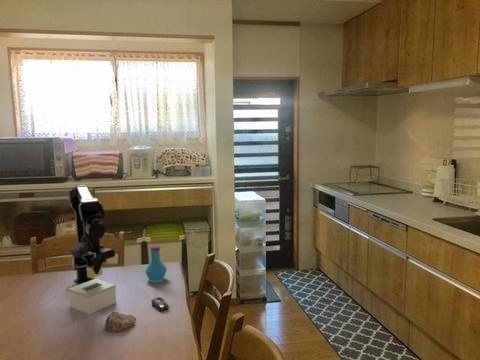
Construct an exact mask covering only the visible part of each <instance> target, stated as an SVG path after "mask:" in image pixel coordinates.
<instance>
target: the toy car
mask: <svg viewBox="0 0 480 360" xmlns="http://www.w3.org/2000/svg"><path fill="white" fill-rule="evenodd" d="M150 283H151V282H150V281H148V284H150ZM150 302H151V304H152V307H153V308H155V307H156V308H157V309H158V311H159V312H164V311H166V310H169V309H170V306H169V304H168V303H167V301H166V300H165V299H164V298H163V297H155V298H154V299H153V298H152V299H151V301H150Z"/></svg>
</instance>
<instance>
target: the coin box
mask: <svg viewBox="0 0 480 360" xmlns="http://www.w3.org/2000/svg"><path fill="white" fill-rule="evenodd" d="M116 289H117V288H116V284H114V283H111V282H108V281H104V280H101V279H98V278H95V279H93V280H90V281H88V282H85V283H82V284H81V283H79V284H77V285H75V286H71V287H70V288H68V289H67V290H68V291H67V293H68V303H69V304H68V306H69V307H70V308H73V309H75V310H77V311H80V312H82V313H85V314H87V315H91V314H94V313H96V312H98V311H100V310H102V309H105V308H107V307H109V306H111V305H114V304H115V303H117V291H116Z"/></svg>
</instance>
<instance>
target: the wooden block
mask: <svg viewBox="0 0 480 360" xmlns="http://www.w3.org/2000/svg"><path fill="white" fill-rule="evenodd" d="M102 275H103V265H102V266H101V268H100V271H99V273H98V274H95V269H94V265H91V266H88V267H87V277H89V278H96V277H99V276H102Z"/></svg>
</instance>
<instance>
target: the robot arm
mask: <svg viewBox="0 0 480 360" xmlns="http://www.w3.org/2000/svg"><path fill="white" fill-rule="evenodd" d="M88 186H89V185H86V184H79V185H75V186H74V188H73V189H71V190H69V191H68V193H67V199H68V200H67V201H68V203H69V204H70V206H69V207H70V208H71V209H72V211H73V212H74V218H75V231H76V233H75V234H76V244H75V245H73V246H71V247H70V248H69V252H70V253H71V255H72V260H71V261H72V263H71V264H72V268H73V270H74V271H76V278H75V279H73V282H75V283H78V284H82V283H85V282H88V281H90V280H93V279H96V277H94V278H89V277H87V267H88V266H91V265H94V269H95V274H98V273H99V271H100V268H101V266H102V267H103V264H104V261H105V260H107V259H111V258H114V257H116V250H114V249H113V248H108V247H106V248H104V245H103V244H101V242H102V241H101V239H102V238H103V236H104V235H105V233H106V228H105V226H104V225H103V224H102V223H101V219H102V220H103V219H105V214H106V213H105V211H104V206H103V204H102V203H101V202H100V200H99V199H98V198H96V197H93V196H92V194H91V190H90V189H89V187H88Z"/></svg>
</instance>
